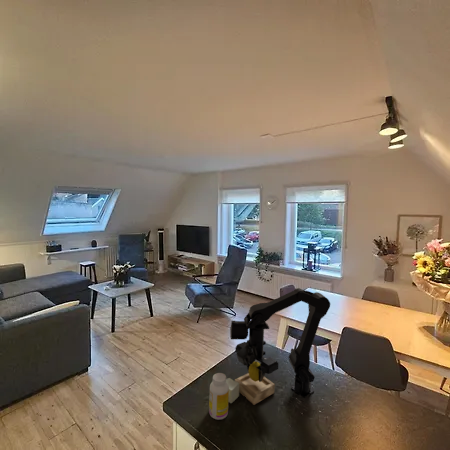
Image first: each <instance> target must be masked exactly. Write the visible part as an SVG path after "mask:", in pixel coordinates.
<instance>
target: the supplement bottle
mask: <svg viewBox="0 0 450 450" xmlns="http://www.w3.org/2000/svg"><path fill="white" fill-rule="evenodd" d="M226 380H227V376H226V374H225V373H222V372H217V373H215V374H213V376H212V381H211V383H210V385H209V397H208V398H209V400H208V401H209V403H208V404H209V405H208V413H209V415H210V417H211V418H213V419H215V420H224V419H226V417H227V416H228V413H229V402H228V396H229V386H228V384H227V382H226Z"/></svg>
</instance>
